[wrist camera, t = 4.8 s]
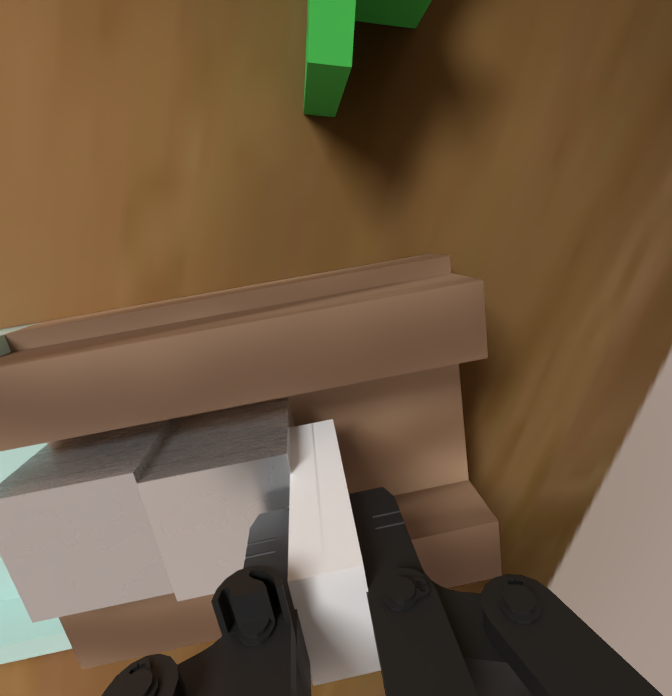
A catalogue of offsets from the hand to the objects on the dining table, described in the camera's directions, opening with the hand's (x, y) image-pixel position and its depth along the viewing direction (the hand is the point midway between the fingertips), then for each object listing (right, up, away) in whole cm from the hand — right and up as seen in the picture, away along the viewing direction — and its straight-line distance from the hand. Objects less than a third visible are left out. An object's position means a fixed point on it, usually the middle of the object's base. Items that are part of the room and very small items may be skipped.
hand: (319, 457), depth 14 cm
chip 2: (-3, 0, +1) cm, 3 cm away
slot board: (-2, 0, +3) cm, 4 cm away
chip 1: (-7, -1, +1) cm, 7 cm away
